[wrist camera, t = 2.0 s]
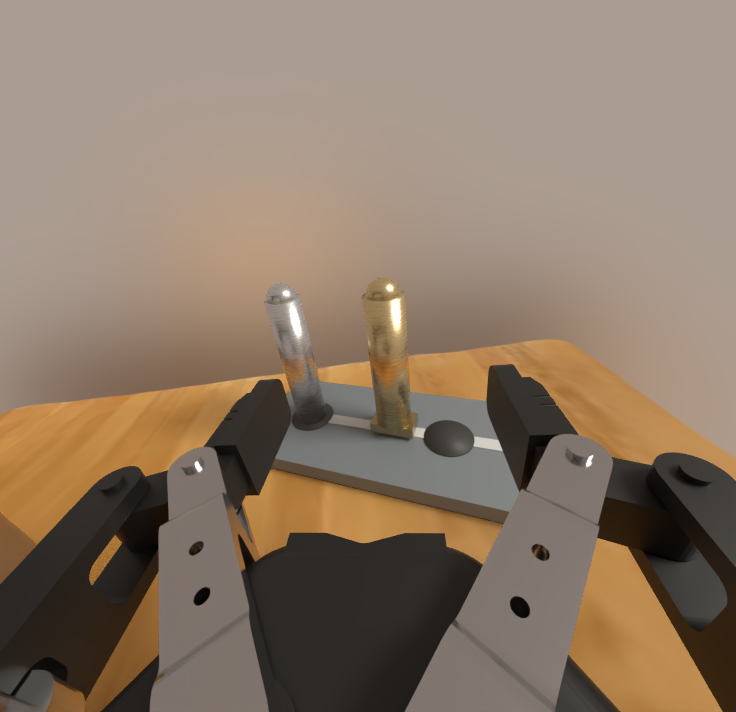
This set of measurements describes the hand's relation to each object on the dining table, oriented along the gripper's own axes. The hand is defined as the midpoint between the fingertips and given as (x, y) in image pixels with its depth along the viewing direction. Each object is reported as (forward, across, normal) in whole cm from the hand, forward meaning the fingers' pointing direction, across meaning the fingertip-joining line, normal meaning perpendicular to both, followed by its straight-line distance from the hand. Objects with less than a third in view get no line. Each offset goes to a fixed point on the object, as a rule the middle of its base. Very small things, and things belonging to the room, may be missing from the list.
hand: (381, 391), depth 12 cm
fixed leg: (+15, +9, +13) cm, 22 cm away
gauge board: (+12, +1, +15) cm, 19 cm away
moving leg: (+12, +1, +13) cm, 18 cm away
